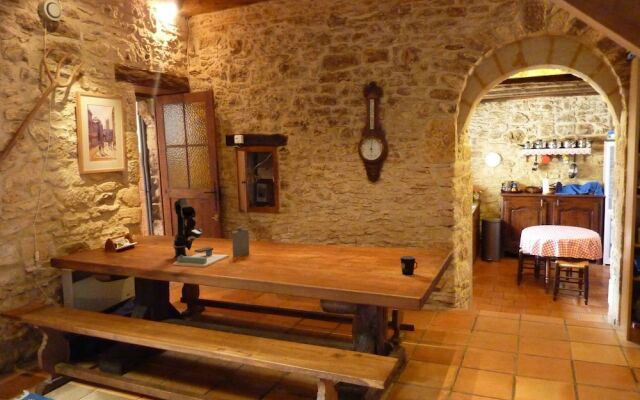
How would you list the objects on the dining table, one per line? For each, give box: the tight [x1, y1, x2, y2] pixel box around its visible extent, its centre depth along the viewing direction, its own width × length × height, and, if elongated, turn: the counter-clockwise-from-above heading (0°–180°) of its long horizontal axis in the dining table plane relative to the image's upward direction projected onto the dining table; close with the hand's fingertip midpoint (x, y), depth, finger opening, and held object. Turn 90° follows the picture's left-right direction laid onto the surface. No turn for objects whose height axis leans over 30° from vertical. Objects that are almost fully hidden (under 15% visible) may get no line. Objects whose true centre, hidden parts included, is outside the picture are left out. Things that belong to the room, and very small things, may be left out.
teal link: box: [177, 255, 207, 263], centre depth 319 cm, size 20×4×4 cm, turn 72°
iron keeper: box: [194, 246, 214, 256], centre depth 337 cm, size 12×6×5 cm, turn 144°
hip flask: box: [231, 226, 250, 258], centre depth 343 cm, size 16×4×20 cm, turn 150°
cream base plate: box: [172, 252, 229, 268], centre depth 329 cm, size 24×31×1 cm
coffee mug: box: [400, 255, 418, 276], centre depth 283 cm, size 12×9×10 cm
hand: (189, 249), depth 312 cm, fingers closed
